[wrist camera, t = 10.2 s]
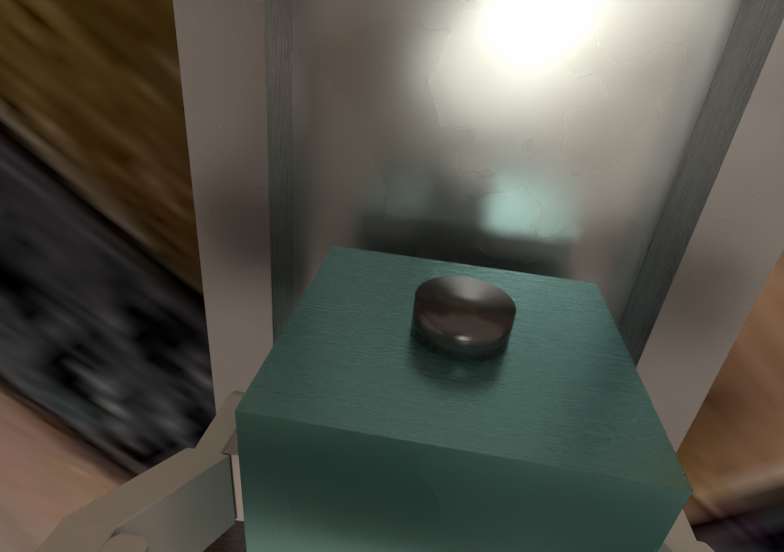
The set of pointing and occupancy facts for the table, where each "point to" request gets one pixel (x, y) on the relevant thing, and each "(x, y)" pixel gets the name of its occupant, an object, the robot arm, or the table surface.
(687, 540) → the robot arm
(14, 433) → the table surface
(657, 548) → the block
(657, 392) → the guide channel
